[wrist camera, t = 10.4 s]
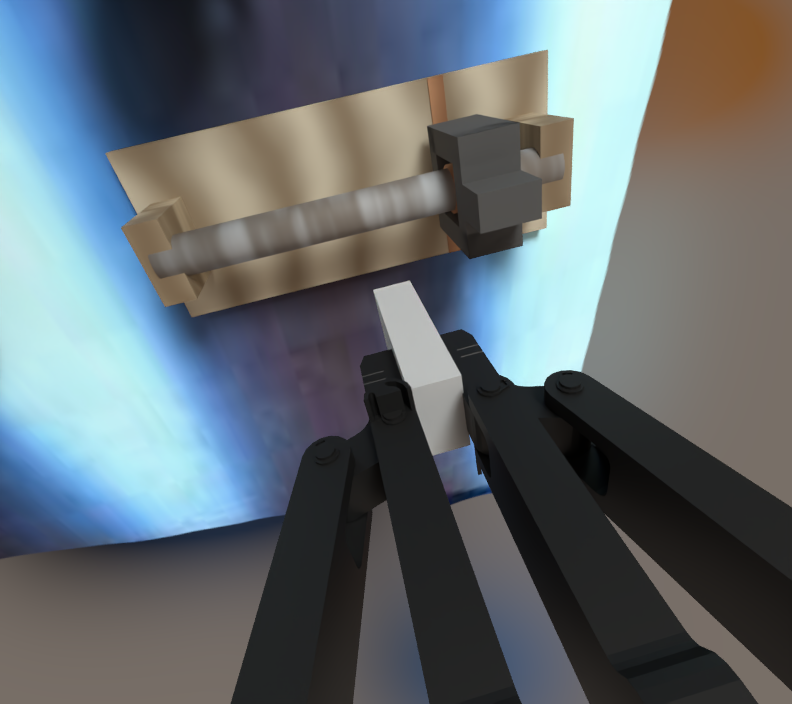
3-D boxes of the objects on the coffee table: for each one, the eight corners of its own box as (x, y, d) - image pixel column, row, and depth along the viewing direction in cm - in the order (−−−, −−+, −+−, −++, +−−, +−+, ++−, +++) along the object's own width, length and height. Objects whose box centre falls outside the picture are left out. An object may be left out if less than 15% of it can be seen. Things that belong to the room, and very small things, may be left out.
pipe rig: (194, 311, 40) (171, 359, 33) (111, 151, 32) (59, 170, 25) (540, 224, 42) (587, 252, 35) (540, 50, 34) (600, 43, 27)
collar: (440, 227, 37) (484, 274, 28) (426, 126, 33) (473, 143, 24) (484, 216, 38) (541, 260, 28) (476, 114, 33) (542, 127, 24)
